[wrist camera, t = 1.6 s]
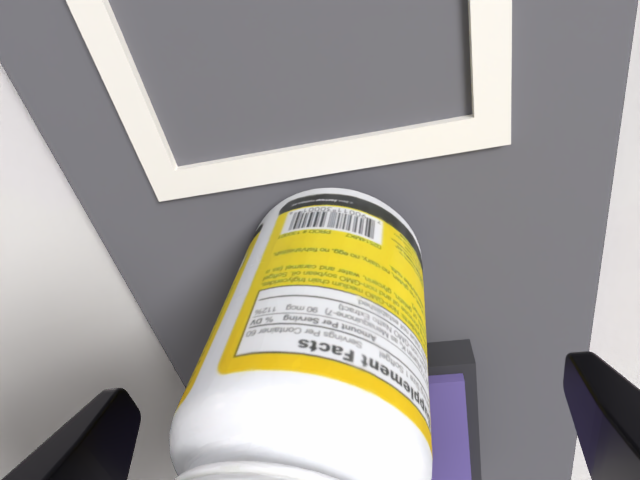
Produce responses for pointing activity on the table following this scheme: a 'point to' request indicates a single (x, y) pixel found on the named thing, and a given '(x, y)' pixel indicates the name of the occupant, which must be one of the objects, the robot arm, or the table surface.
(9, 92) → the table surface
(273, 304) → the supplement bottle
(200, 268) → the mat
